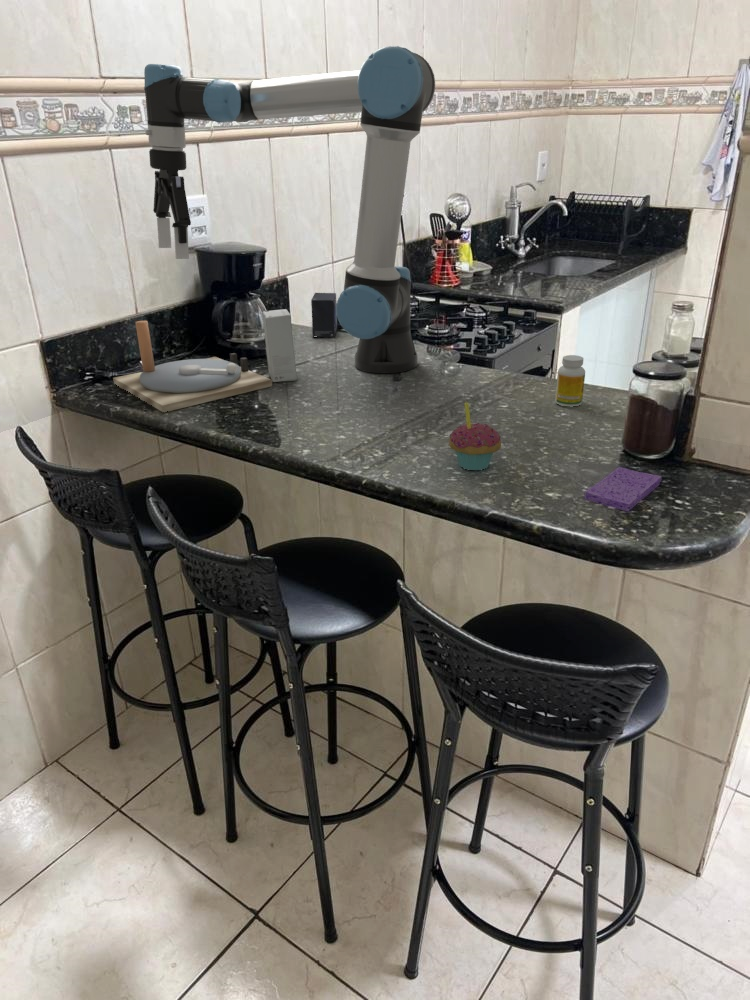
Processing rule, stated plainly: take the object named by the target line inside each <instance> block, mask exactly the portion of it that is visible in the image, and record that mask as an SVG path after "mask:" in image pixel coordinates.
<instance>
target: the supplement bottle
mask: <svg viewBox="0 0 750 1000" xmlns="http://www.w3.org/2000/svg"><path fill="white" fill-rule="evenodd" d="M561 363H562V364H561V366H560V367H559V368H558V369H557V375H556V376H557V377H556V378H557V379H556V384H555V395H554V396H555V397H554V398H555V399H554V403H555V402H556V403H557V404H559V405H563V406H570V407H569V408H574V407H573V406H578V407H580V406H581V405H582V404H583V395H584V388H585V387H584V385H585V379H586V370H585V368H584V367H583V365H584V357H583V356H581V355H575V354H569V355H564V356H562V361H561ZM556 403H555V404H556ZM557 404H556V405H557ZM559 405H558V406H559ZM579 405H580V406H579Z"/></svg>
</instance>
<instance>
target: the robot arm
mask: <svg viewBox="0 0 750 1000" xmlns="http://www.w3.org/2000/svg"><path fill="white" fill-rule="evenodd" d="M434 73H435V72H434V71H433V68H432V66H431V64H430V63H429V62H428V61H427V59H425V58H424V57H423V56H421V55H419V54H418V53H416V52H414V51H413V52H412V51H411V50H410V49H408V48H406V47H401V46H399V45H397V46H391V45H390V46H384V47H380V48H379V49H376V50H375V51H374V52H372V53H370V54H369V56H368V57H367V58H366V59H365V60H364V62H363V63H362V65H361V67H360V69H359V70H352V71H351V70H350V71H339V72H338V71H337V72H329V73H320V74H319V73H318V74H309V75H300V76H299V75H298V76H288V77H279V78H278V77H277V78H276V77H275V78H267V79H266V78H265V79H258V80H245V81H244V80H243V81H230V80H225V79H222V78H221V79H219V78H195V77H194V78H193V77H184V75H183V71H182V68H181V66H178V65H170V64H162V63H161V64H159V63H148V64H146V65H145V67H144V87H143V89H144V95H145V107H146V118H147V129H146V130H145V131H144V132H145V135H146V136H147V137H148V145H149V147H151V148H150V149H149V151H148V153H149V154H148V155H149V166H150V168H151V169H155V171H154V193H153V194H154V197H153V198H154V199H153V210H152V211H153V213H154V214H155V216H156V222H157V223H156V224H157V239H158V248H159V249H165V248H166V249H172V237H171V226H172V228H173V234H174V235H173V237H174V248H175V249H174V253H175V259H177V260H180V259H181V260H182V259H183V260H185V259H187V260H188V259H190V255H189V253H190V252H189V231H188V230H189V229H188V228H189V226H191V225H192V221H191V216H190V212H189V205H188V199H187V194H186V188H185V178H184V176H179V171H185V170H186V169H187V153H186V151H185V150H184V149H185V148H187V147H186V144H187V143H186V127H185V120H196V121H197V120H198V121H206V122H207V121H208V122H216V123H232V122H236V123H247V122H248V123H249V122H250V121H259V120H271V119H282V118H283V119H285V118H298V117H299V118H300V117H311V116H324V115H325V116H326V115H336V114H351V113H352V114H353V113H361V114H360V127H361V129H362V130H363V131H364V132H365V135H366V143H365V153H364V154H365V155H364V161H363V169H362V171H363V173H362V179H361V180H362V182H361V190H360V200H359V201H360V202H359V207H358V208H359V211H358V219H357V220H358V221H357V228H356V239H355V247H354V248H355V249H354V255H353V256H354V257H353V262H352V263H350V264H349V265H348V266H347V267H346V269H345V276H344V277H345V278H344V283H343V284H344V286H343V291H342V292H341V293H340V294H339V297H338V298H337V299H338V300H336V302H337V305H336V314H337V322H338V323H339V325H340V326H341V328H342V329H343V330H344V331H345V332H346V333H347V334H349V335H351V336H352V337H354V338H355V339H356V338H357V339H359V340H358V345H357V348H356V352H355V355H354V366H355V368H356V369H358V370H360V371H363V372H367V373H374V374H394V373H395V374H396V373H403V372H407V371H411V370H413V369H415V368H416V367H417V366H418V353H417V351H416V347H415V343H414V341H413V340H414V339H413V337H412V334H411V284H412V279H411V272H410V269H409V268H407V267H406V266H396V256H397V251H398V249H397V248H398V241H399V235H400V234H399V233H400V228H401V227H400V225H401V219H402V212H403V211H402V209H403V203H404V196H405V195H404V194H405V187H406V182H407V181H406V179H407V173H408V165H409V156H410V150H411V142H412V141H413V140H414V138H416V137H417V136H418V135H419V134H420V133H421V127H422V117H423V112H425V111H426V110H427V109H428V107H430V104H431V103H432V101H433V98H434V95H435V91H436V79H435V74H434ZM170 210H171V212H170ZM171 214H172V215H171ZM171 217H173V220H174V221H173V222H172V225H171V221H170V220H171V219H170V218H171Z"/></svg>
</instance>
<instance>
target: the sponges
mask: <svg viewBox="0 0 750 1000" xmlns="http://www.w3.org/2000/svg"><path fill="white" fill-rule="evenodd" d="M661 482H662V476H661V475H659V474H658V475H656V474H652V473H648V472H642V471H638V470H637V471H636V470H632V469H628V468H626V467H621V466H618V467H617V468H616V469H615V470H613V471H612V472H610V473H609V474H608V475H607V476H606V477H604V478H603V479H601V481H598V482H596V483H595V484H594V485H593V486H591V487H589V488H588V489H586V490H585V492H584V497H583V498H584V500H585V501H589V502H593V503H596V504H601V505H604V506H607V507H610V508H614V509H618V510H622V511H625V512H630V510H632V509H633V508H634V507H636V505H637V504H638V503H640V502H641V501H642V500H643V499H644V498H646V497H647V496H648V495H649V494H651V492H653V491H654V490H655V489H656V488H658V486H660V484H661Z"/></svg>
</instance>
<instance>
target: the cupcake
mask: <svg viewBox="0 0 750 1000" xmlns="http://www.w3.org/2000/svg"><path fill="white" fill-rule="evenodd" d="M464 401H465V402H464V411H465V420H466V424H462V425H460V426H458V427H457V426H456V429H453V431H452V432H451V433H450V434H449V438H448V439H449V440H448V444H449V447H450V449H451V450H454V452H455V455H456V457H457V461H458V466H459V467H460V466H461V467H463V468H465V469H469V470H481V469H484V470H486V469H487V468H488V467H489V464H490V461H491V460H492V457H493V455H494V453H495V452H497V451H498V450H501V447H502V440H501V437H502V436H501V435H500V434H499V432H498V431H496V429H495V428H493V427H491V426H490V425H489V424H483V423H479V422H477V423H471V414H470V413H471V412H470V404H469V402H468V401H467V398H464ZM461 467H460V468H461ZM485 468H486V469H485ZM465 469H464V470H465ZM481 471H482V470H481Z"/></svg>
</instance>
